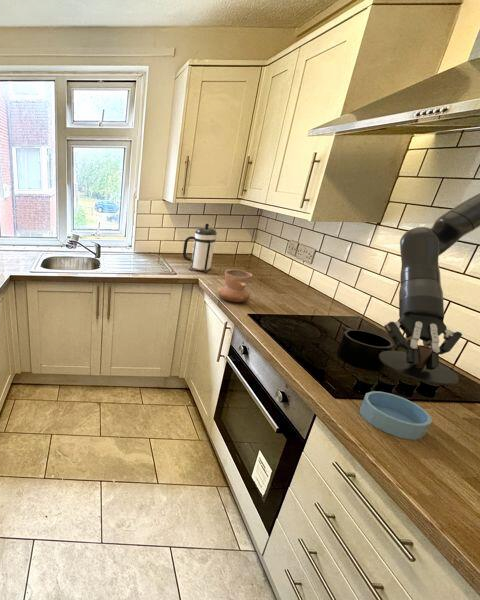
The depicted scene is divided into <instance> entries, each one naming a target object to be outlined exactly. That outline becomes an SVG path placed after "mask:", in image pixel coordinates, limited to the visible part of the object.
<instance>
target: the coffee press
mask: <svg viewBox="0 0 480 600" xmlns="http://www.w3.org/2000/svg"><path fill="white" fill-rule="evenodd" d="M194 235H195V236H193V235H192V236H188V237H187V238H186V239H185V240H184V243H183V250H182V254H183V255H182V257H183V259H184V260H185V261H187V262H190V267H189V269H188V271H191V272H192V271H193V270H198V271H203V274H208V270H209V269H211V270H212V261H213V255H214V249H215V244H216V239H219V236H218V232H217V230H216V229H215V228H214V227H210V224H209V223H205V224H204V226H202V227H201V226H200V227H198V228H196V230H195V231H194ZM191 240H193V248H192V257H191V258H190V257H188V256H187V248H188V242H189V241H191Z"/></svg>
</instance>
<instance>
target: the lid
mask: <svg viewBox="0 0 480 600" xmlns="http://www.w3.org/2000/svg"><path fill="white" fill-rule="evenodd" d="M416 350H418V359H419V364H418V365H417V366H414V367H413V366H409V363H407V361H406V351H399V350H391V351H384V352H381V353H380V354H379V360H380V361H381V362H382V363H383V364H384V367H387V368H388V369H389V370H391V371H393V372H395V373H398V374H400V375H402V376H405V377H407V378H410V379H412V380H415V381H419V382H423V383H426V384H430V385H437V386H454V385H457V384H458V382H459V381H460V378H459V376H458V374H457V373H456V372H455V371H454V370H452V369H451V368H449V367H448V366H446V365H444V364H443V363H440V362H439V366H438V367H436V368H435V369H433V370H428V369H426V363H427V361H428V359H429V357H430V355H431V353H432V351H433V349H432V348H430V347H427V346H424V345H423V344H419V345H417V348H416Z"/></svg>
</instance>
